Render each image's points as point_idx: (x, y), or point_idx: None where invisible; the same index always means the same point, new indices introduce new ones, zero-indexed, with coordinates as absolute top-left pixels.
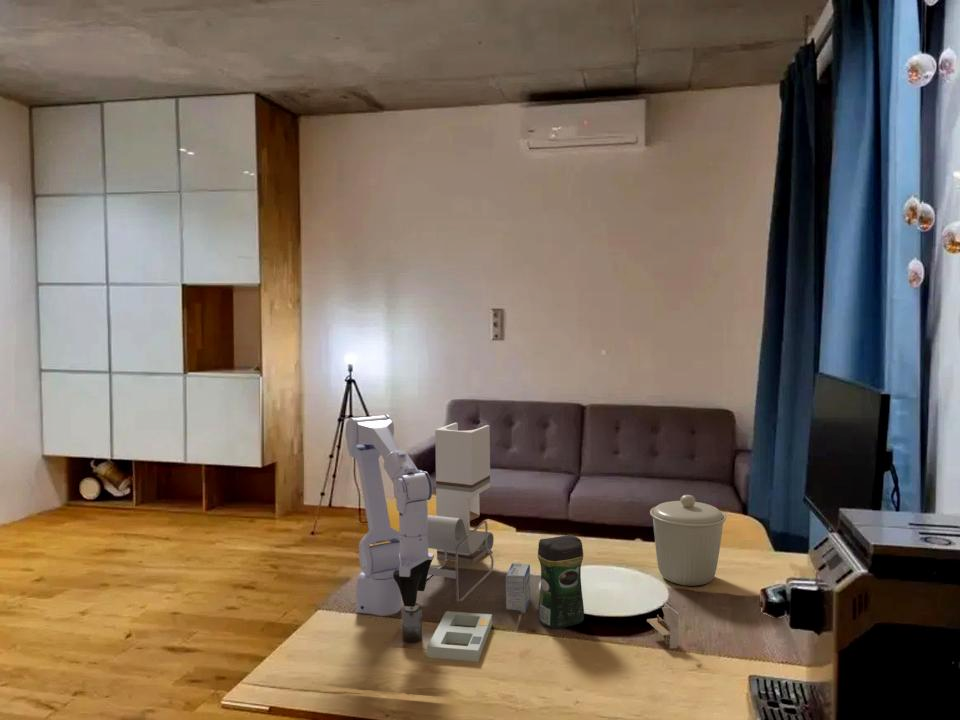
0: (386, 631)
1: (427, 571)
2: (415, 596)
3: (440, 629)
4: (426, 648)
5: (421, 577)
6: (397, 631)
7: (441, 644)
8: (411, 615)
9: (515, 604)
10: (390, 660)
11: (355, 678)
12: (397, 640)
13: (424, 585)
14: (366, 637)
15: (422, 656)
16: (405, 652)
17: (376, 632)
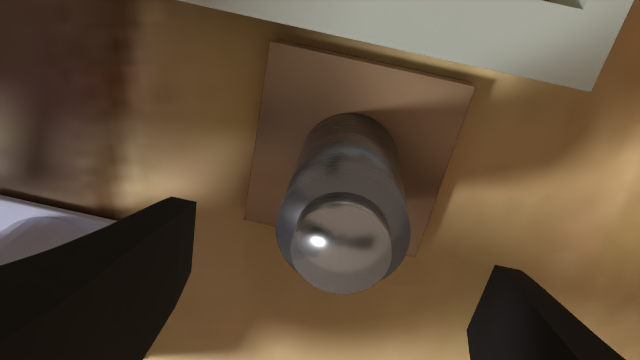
0: (243, 257)
1: (80, 287)
2: (590, 332)
3: (375, 16)
4: (465, 86)
5: (130, 297)
6: (274, 224)
7: (591, 2)
8: (409, 230)
9: None
10: (506, 232)
11: (622, 338)
12: None
13: (174, 221)
14: (296, 320)
15: (497, 99)
16: (443, 177)
17: (253, 291)
